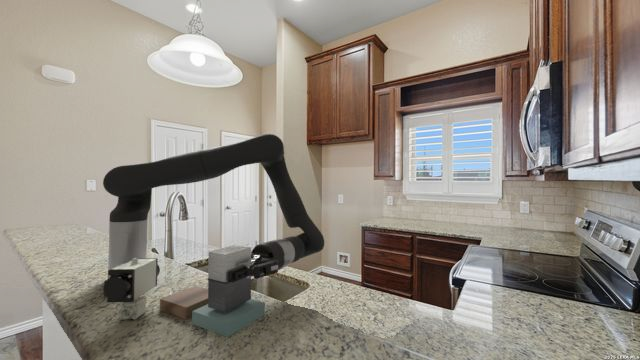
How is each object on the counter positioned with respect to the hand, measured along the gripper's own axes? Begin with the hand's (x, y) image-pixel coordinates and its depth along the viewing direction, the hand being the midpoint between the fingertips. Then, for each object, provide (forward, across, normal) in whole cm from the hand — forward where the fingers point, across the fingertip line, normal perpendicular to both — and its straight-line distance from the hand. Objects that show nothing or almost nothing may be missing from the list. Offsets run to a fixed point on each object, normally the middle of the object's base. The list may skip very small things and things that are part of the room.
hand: (220, 274), depth 54 cm
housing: (-3, 0, +6) cm, 7 cm away
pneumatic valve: (+6, -19, +10) cm, 22 cm away
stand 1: (-3, -12, +10) cm, 16 cm away
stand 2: (-2, 0, +10) cm, 10 cm away
